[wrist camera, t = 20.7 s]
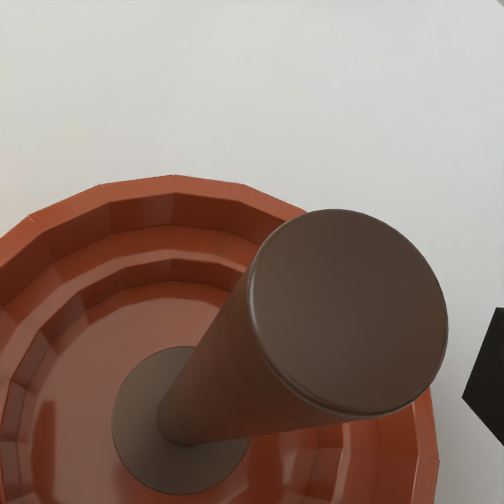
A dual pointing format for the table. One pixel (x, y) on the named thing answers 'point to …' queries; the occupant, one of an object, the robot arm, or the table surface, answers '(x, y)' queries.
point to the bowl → (156, 339)
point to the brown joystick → (288, 352)
